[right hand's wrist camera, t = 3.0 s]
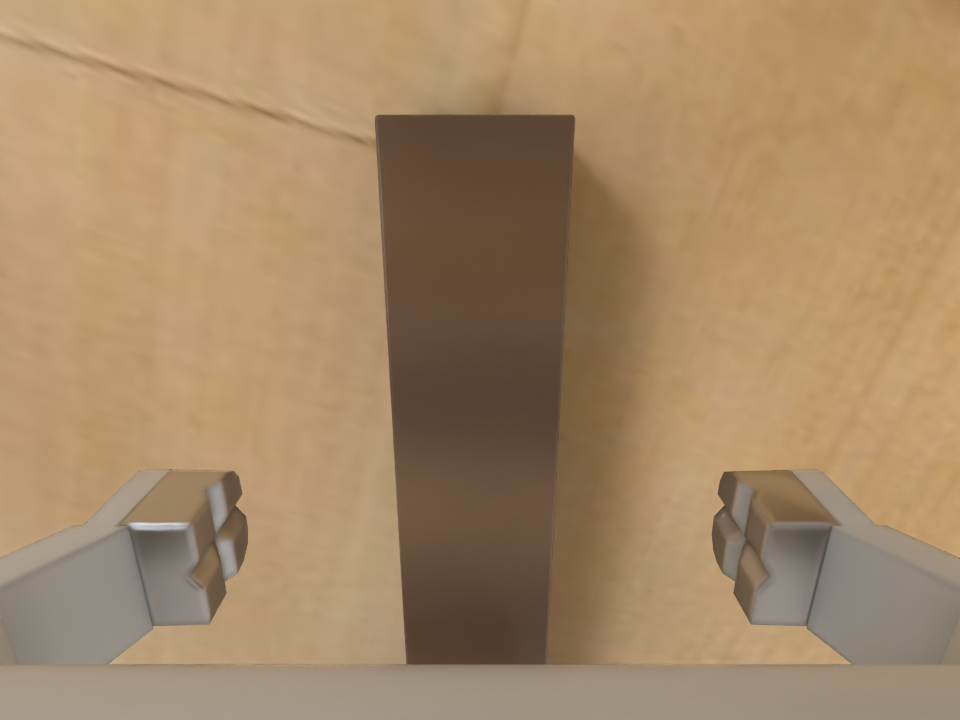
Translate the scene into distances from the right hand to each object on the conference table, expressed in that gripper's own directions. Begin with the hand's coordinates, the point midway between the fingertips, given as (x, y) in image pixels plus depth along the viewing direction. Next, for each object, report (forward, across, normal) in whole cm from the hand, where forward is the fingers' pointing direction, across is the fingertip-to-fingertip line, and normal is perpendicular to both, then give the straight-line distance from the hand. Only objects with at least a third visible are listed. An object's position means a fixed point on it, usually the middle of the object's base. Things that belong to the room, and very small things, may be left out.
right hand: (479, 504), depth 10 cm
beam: (+15, 0, -20) cm, 25 cm away
